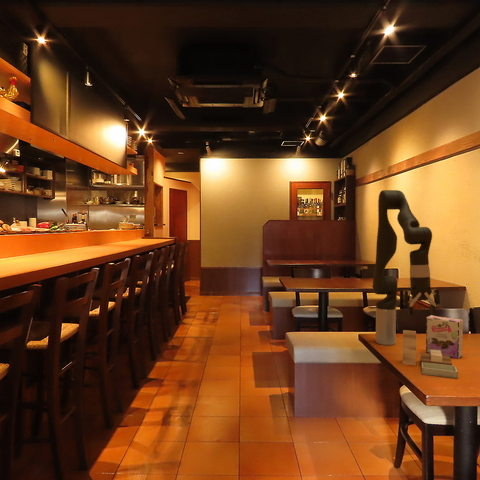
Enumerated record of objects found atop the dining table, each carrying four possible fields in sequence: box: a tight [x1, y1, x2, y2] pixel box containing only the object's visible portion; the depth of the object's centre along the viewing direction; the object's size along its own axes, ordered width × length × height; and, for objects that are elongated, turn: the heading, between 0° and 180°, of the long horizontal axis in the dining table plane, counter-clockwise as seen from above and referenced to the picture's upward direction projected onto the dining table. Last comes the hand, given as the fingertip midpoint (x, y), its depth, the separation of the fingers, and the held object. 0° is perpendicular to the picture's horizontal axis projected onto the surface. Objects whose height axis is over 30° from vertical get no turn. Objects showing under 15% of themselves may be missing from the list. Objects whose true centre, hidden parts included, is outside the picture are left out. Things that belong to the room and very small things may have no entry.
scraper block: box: [402, 329, 417, 366], centre depth 167 cm, size 5×5×13 cm
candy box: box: [425, 314, 464, 360], centre depth 179 cm, size 14×6×16 cm, turn 44°
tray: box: [421, 362, 459, 379], centre depth 154 cm, size 8×12×2 cm, turn 68°
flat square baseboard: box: [420, 352, 453, 369], centre depth 163 cm, size 11×11×3 cm
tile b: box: [430, 352, 442, 362], centre depth 160 cm, size 4×4×2 cm
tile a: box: [429, 349, 441, 357], centre depth 165 cm, size 4×4×2 cm
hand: (421, 315), depth 164 cm, fingers open, 8 cm apart
